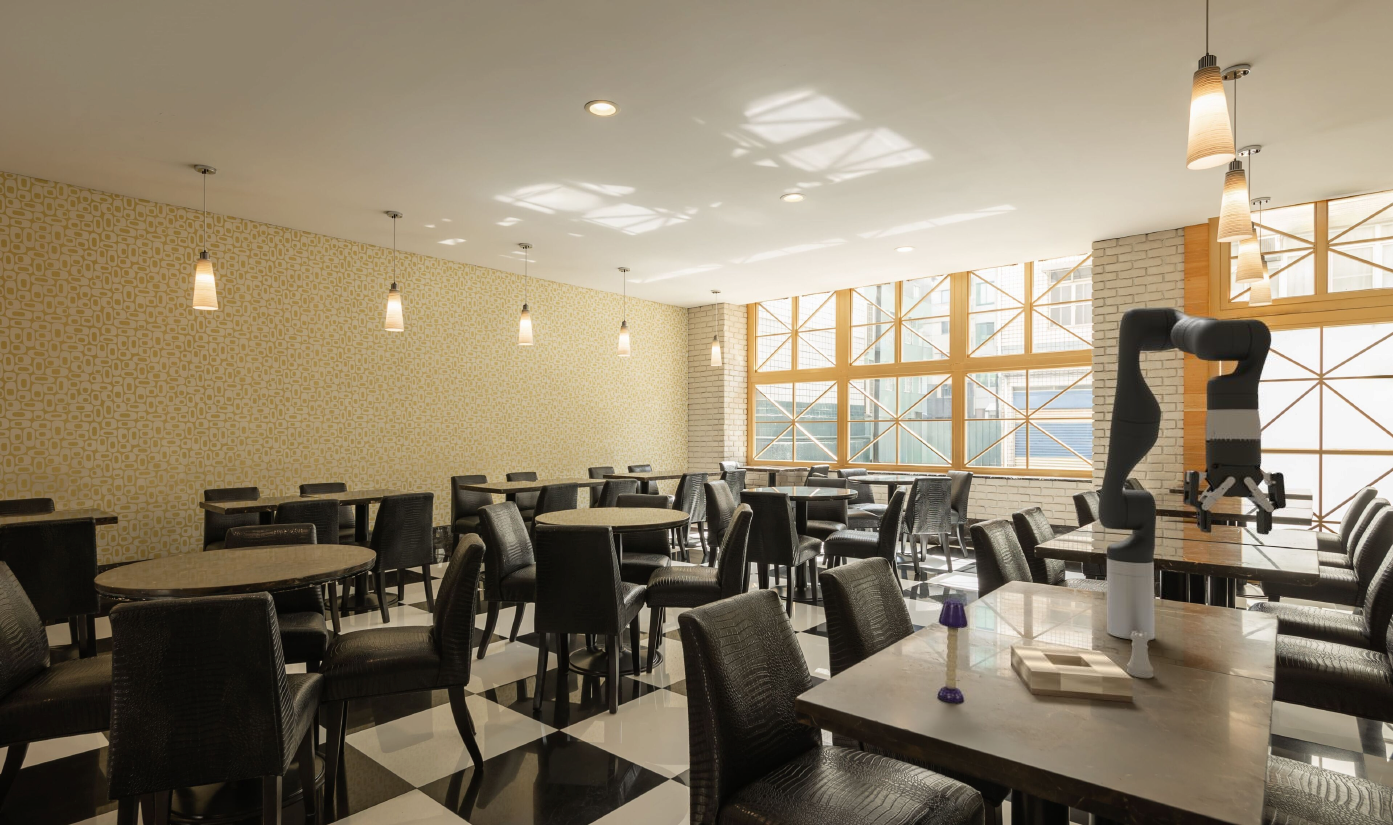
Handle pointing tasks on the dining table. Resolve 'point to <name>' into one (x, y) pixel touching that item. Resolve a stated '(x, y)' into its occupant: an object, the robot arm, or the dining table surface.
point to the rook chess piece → (1139, 656)
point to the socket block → (1071, 673)
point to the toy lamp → (952, 647)
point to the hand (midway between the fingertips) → (1233, 533)
